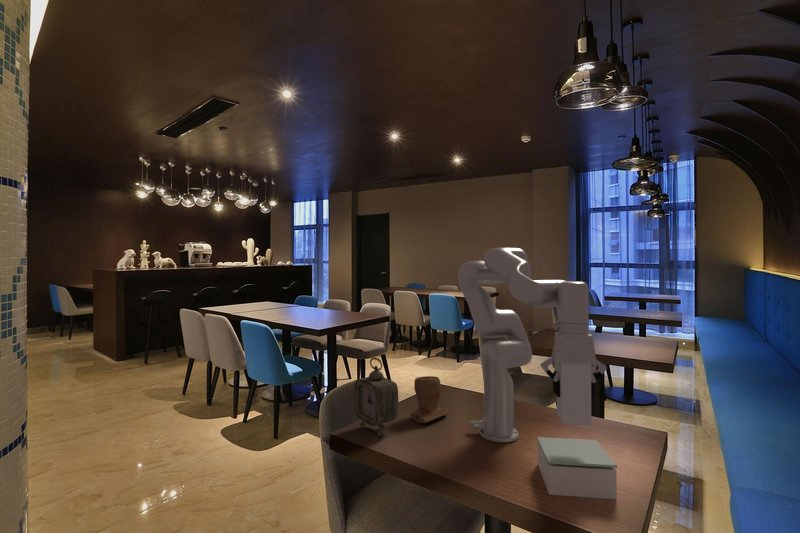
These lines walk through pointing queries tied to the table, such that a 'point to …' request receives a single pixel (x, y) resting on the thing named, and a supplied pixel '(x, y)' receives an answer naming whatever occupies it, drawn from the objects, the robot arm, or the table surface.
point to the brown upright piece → (428, 399)
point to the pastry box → (578, 479)
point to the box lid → (575, 452)
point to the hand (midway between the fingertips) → (573, 395)
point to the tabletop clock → (376, 399)
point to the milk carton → (575, 394)
